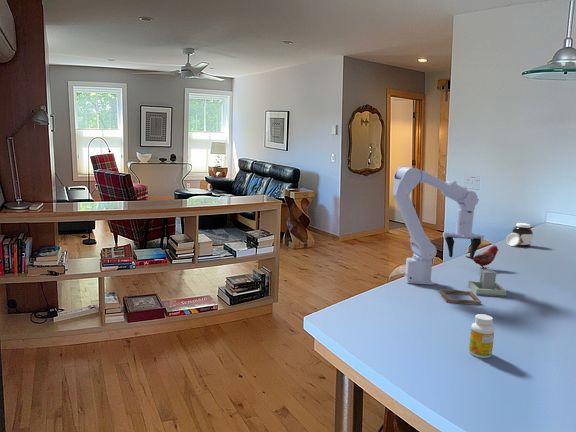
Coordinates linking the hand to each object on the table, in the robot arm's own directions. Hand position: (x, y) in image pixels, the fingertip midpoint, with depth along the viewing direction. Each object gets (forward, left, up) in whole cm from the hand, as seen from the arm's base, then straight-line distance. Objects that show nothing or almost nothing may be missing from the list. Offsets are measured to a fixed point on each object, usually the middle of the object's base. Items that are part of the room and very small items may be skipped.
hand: (460, 257), depth 180 cm
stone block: (+7, -11, -9) cm, 16 cm away
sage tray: (+7, -11, -9) cm, 16 cm away
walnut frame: (-5, -21, -9) cm, 24 cm away
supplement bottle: (-11, -65, -10) cm, 67 cm away
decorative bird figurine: (+14, +20, -10) cm, 26 cm away
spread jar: (+50, +76, -10) cm, 92 cm away
